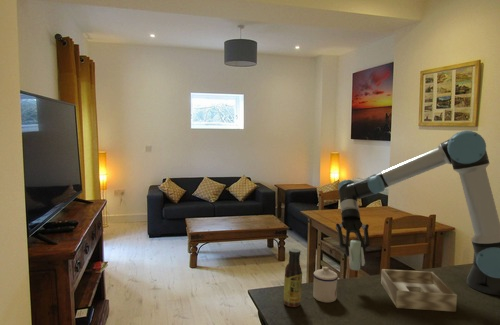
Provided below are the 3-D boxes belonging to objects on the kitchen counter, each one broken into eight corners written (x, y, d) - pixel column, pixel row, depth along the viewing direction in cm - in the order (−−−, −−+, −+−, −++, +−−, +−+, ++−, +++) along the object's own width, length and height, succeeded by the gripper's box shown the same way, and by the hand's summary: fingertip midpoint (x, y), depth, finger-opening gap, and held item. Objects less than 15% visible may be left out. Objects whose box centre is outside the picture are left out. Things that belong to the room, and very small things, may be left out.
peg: (358, 266, 138) (359, 239, 137) (361, 270, 134) (362, 243, 133) (348, 266, 138) (349, 239, 137) (350, 270, 134) (351, 242, 133)
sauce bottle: (290, 310, 119) (292, 254, 117) (279, 302, 124) (281, 249, 122) (304, 305, 123) (306, 251, 121) (293, 298, 128) (295, 246, 126)
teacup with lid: (340, 302, 125) (342, 272, 124) (316, 303, 124) (317, 272, 123) (329, 287, 137) (330, 259, 136) (307, 288, 136) (308, 260, 135)
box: (431, 286, 140) (432, 271, 139) (455, 311, 120) (457, 295, 119) (381, 283, 142) (381, 269, 141) (396, 307, 122) (397, 291, 121)
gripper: (368, 217, 149) (377, 269, 134) (329, 216, 151) (333, 267, 136) (372, 207, 143) (382, 260, 128) (330, 207, 145) (335, 259, 130)
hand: (357, 264), depth 132 cm, fingers closed on peg, 4 cm apart
